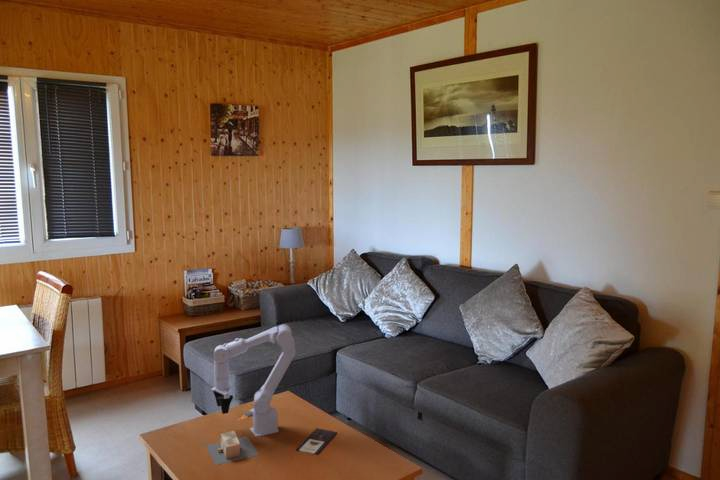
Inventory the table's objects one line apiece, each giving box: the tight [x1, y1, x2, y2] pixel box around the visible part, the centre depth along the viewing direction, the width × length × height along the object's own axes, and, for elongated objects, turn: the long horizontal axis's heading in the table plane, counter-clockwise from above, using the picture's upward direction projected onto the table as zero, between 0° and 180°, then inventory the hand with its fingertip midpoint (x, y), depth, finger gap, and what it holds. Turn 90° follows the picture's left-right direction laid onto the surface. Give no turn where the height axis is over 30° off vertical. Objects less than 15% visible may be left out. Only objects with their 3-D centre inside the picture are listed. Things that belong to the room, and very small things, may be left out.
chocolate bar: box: [295, 428, 338, 456], centre depth 220 cm, size 9×1×18 cm
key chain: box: [237, 408, 253, 421], centre depth 242 cm, size 13×4×2 cm, turn 152°
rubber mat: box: [205, 436, 260, 466], centre depth 213 cm, size 16×16×1 cm
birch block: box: [220, 430, 240, 459], centre depth 211 cm, size 5×5×8 cm
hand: (222, 409), depth 225 cm, fingers open, 7 cm apart
